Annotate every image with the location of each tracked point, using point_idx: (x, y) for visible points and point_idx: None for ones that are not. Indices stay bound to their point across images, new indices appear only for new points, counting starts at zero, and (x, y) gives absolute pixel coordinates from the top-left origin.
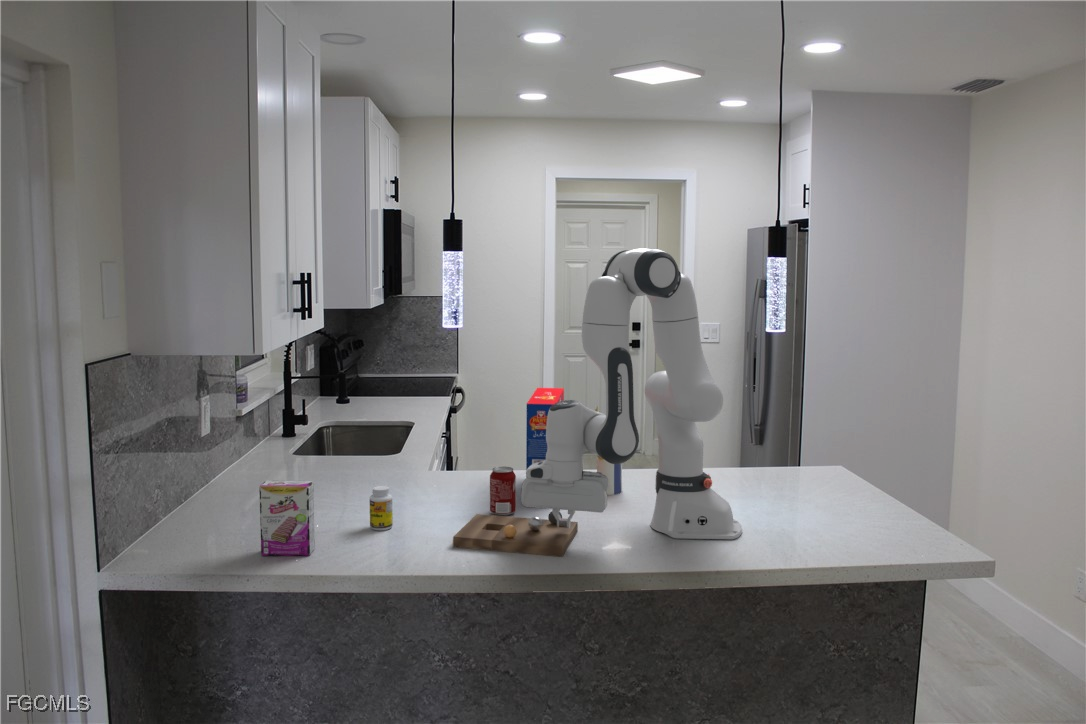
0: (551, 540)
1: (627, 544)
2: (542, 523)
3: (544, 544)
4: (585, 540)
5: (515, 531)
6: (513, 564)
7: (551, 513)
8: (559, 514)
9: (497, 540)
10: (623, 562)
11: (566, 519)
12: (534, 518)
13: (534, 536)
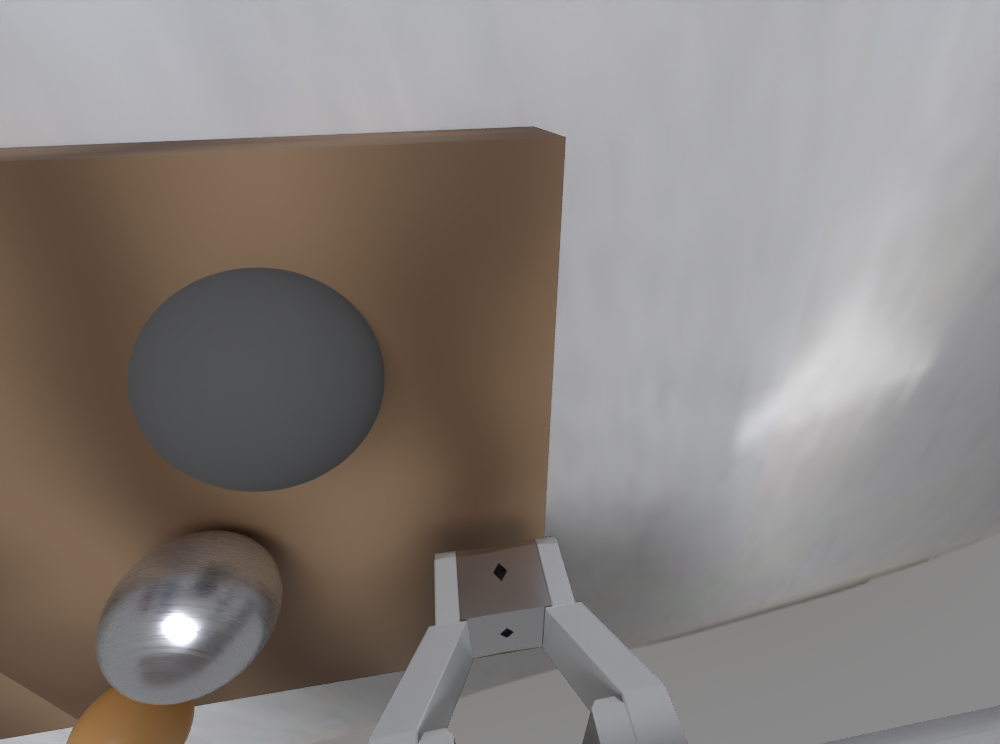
0: None
1: (927, 325)
2: (271, 599)
3: None
4: (630, 345)
5: (185, 736)
6: (348, 688)
7: (215, 485)
8: (349, 444)
9: None
10: (805, 544)
11: (534, 620)
12: (178, 702)
13: (305, 618)
